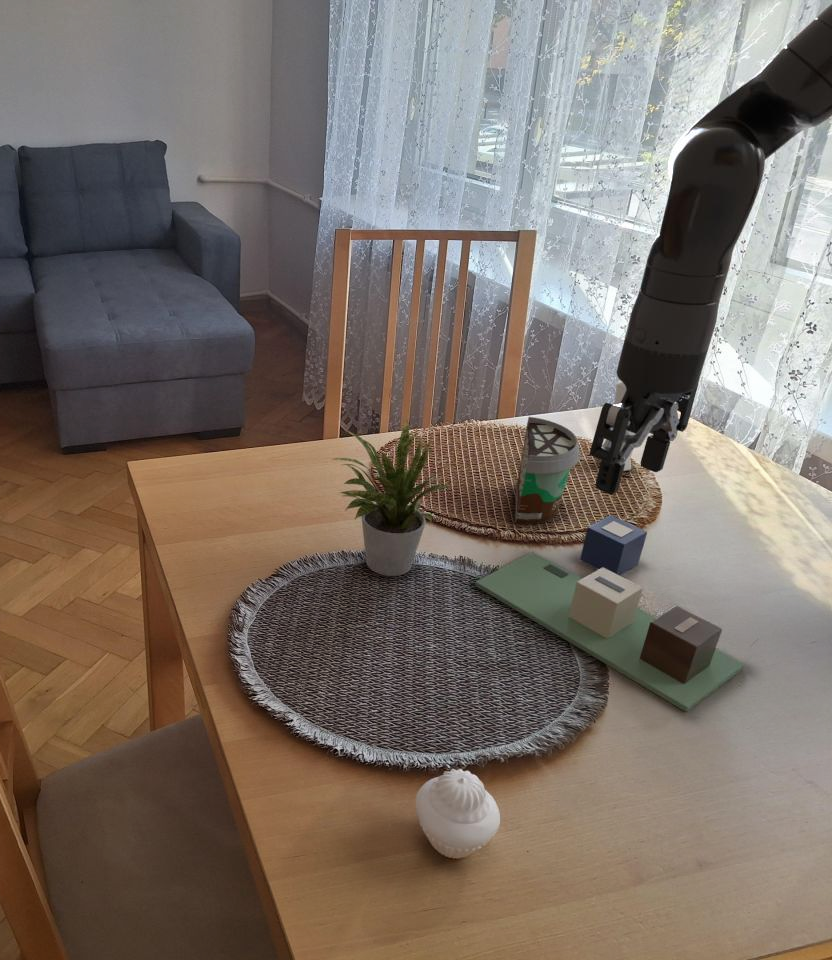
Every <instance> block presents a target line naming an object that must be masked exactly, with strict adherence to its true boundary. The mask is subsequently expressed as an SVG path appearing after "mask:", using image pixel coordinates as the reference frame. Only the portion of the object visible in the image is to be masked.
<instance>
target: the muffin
mask: <svg viewBox="0 0 832 960" xmlns="http://www.w3.org/2000/svg"><path fill="white" fill-rule="evenodd" d="M414 801H415V802H414V806H415V811H416V815H417V820H418V822H419V826H420V827H421V829H422V832H423V833H424V835H425V837H426V839H428V841H429V843H430V844H431V846H432V847H433V848H434V850H435V851H436V852H437V853H439V854H440V855H441V856H445V857H446V858H448V859H451V858H452V859H453V860H454V859H457V860H459V859H463V858H466V857H468V856H470V855H472V854H474V853H475V852H477V851H479V850H481V848H483V847H485V846H486V845H487V844H488V843H489V842H490V841H491V839H493V837H494V836H495V835H496V834H497V832H498V831H499V829H500V825H501V813H500V810H499V806H498V804H497V802H496V800H495V799H494V797H493V795H491V793H489V792H488V790H486V789H485V785H484V783H483V782H482V780H480V779H479V777H478V776H477V775H476V774H474V773H471V771H469V770H463V769H462V768H458V769H457V770H456V769H455V768H451V769H450V771H449V770H444V771H443V774H442V775H439V776H437V777H433V778H430V779H429V780H427V781H426V782H425V783H423V785H422V786H421V787H420V788H419V790H418V792H417V793H416V796H415V800H414Z"/></svg>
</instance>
